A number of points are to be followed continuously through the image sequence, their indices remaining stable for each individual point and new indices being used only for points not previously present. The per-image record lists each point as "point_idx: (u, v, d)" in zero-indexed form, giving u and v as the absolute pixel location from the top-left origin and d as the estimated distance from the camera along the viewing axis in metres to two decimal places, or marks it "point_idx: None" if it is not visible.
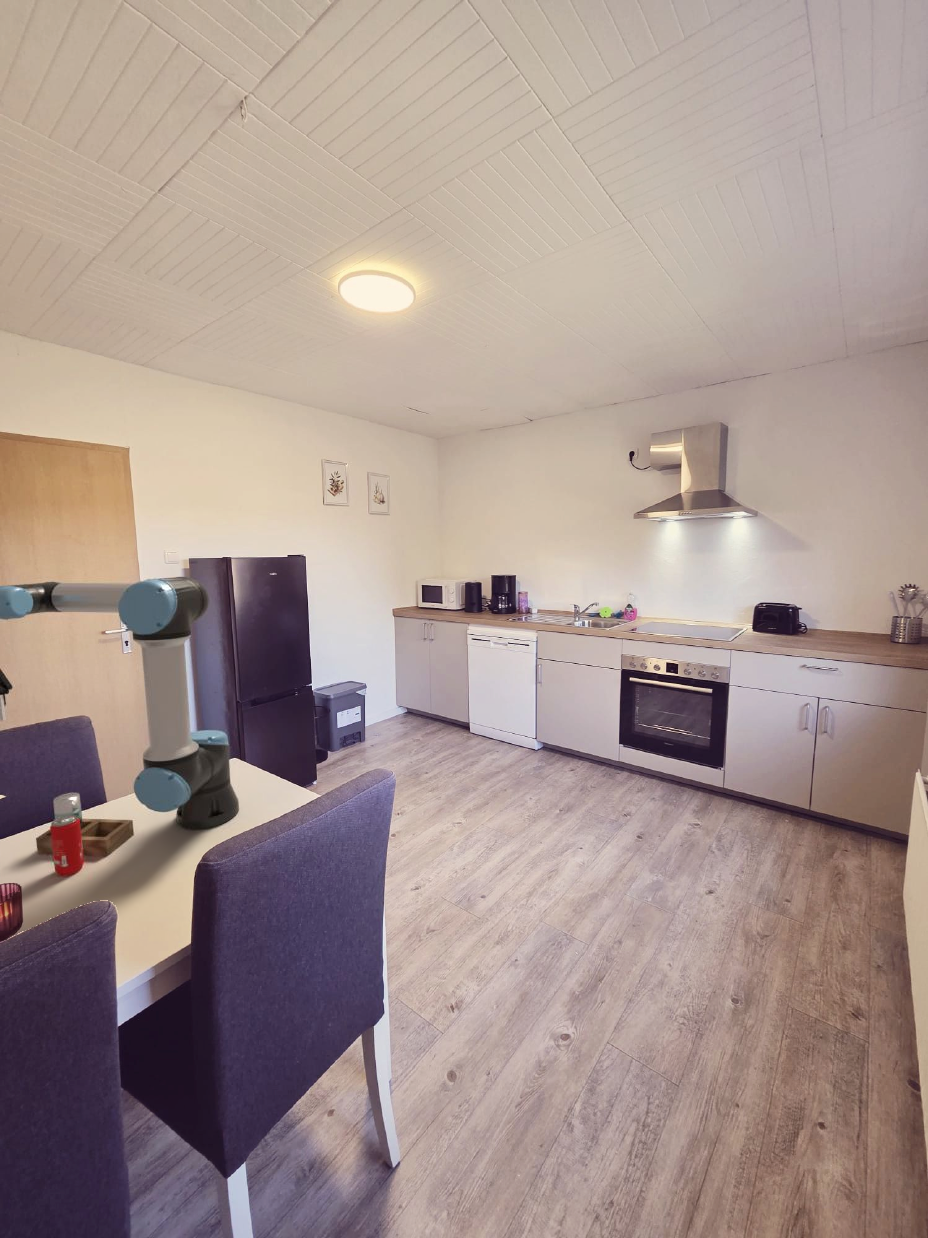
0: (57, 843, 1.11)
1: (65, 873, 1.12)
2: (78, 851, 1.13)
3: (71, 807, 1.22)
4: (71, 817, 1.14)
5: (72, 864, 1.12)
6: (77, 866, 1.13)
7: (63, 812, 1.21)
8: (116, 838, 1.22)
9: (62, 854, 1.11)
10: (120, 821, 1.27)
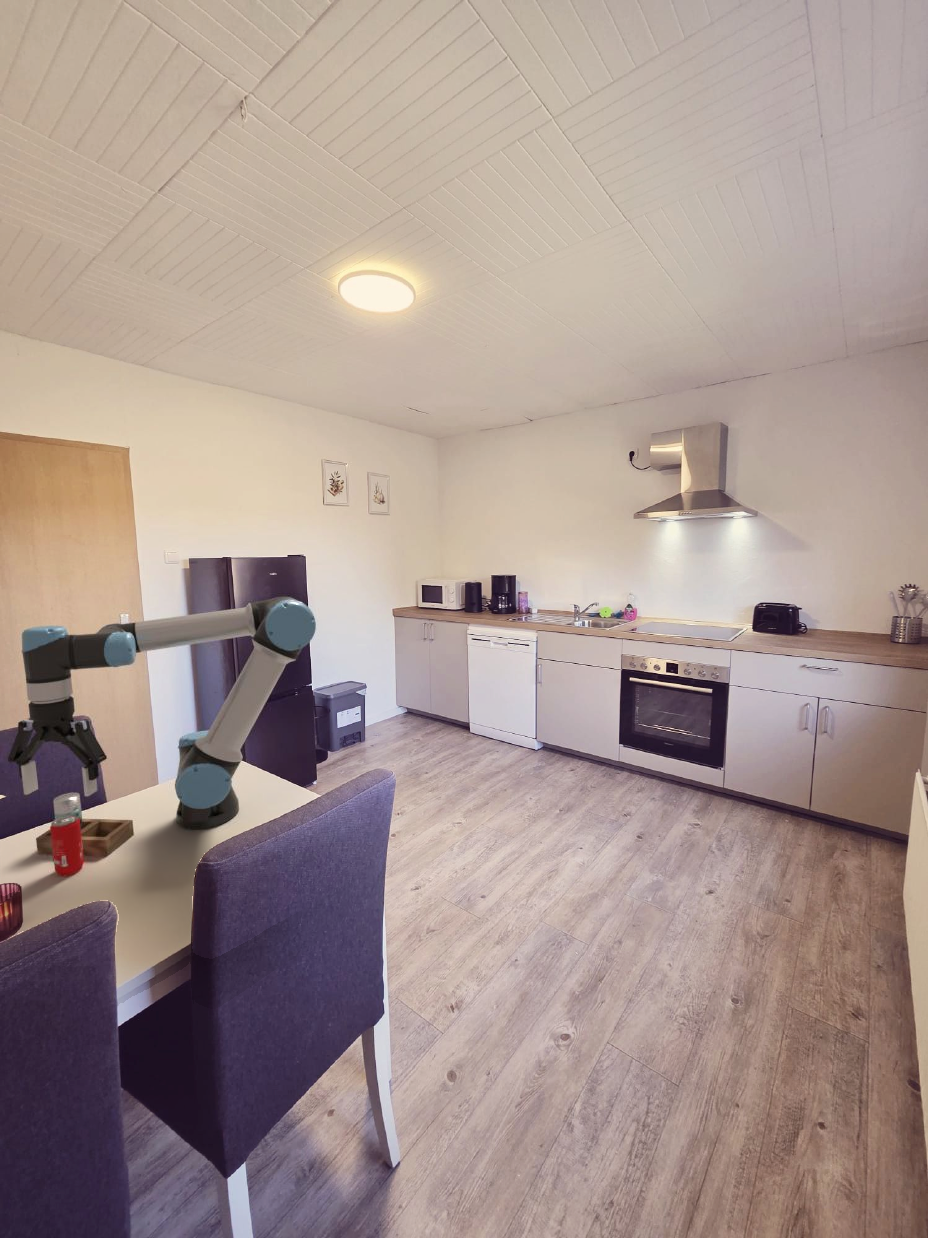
0: (57, 843, 1.11)
1: (65, 873, 1.12)
2: (78, 851, 1.13)
3: (71, 807, 1.22)
4: (71, 817, 1.14)
5: (72, 864, 1.12)
6: (77, 866, 1.13)
7: (63, 812, 1.21)
8: (116, 838, 1.22)
9: (62, 854, 1.11)
10: (120, 821, 1.27)
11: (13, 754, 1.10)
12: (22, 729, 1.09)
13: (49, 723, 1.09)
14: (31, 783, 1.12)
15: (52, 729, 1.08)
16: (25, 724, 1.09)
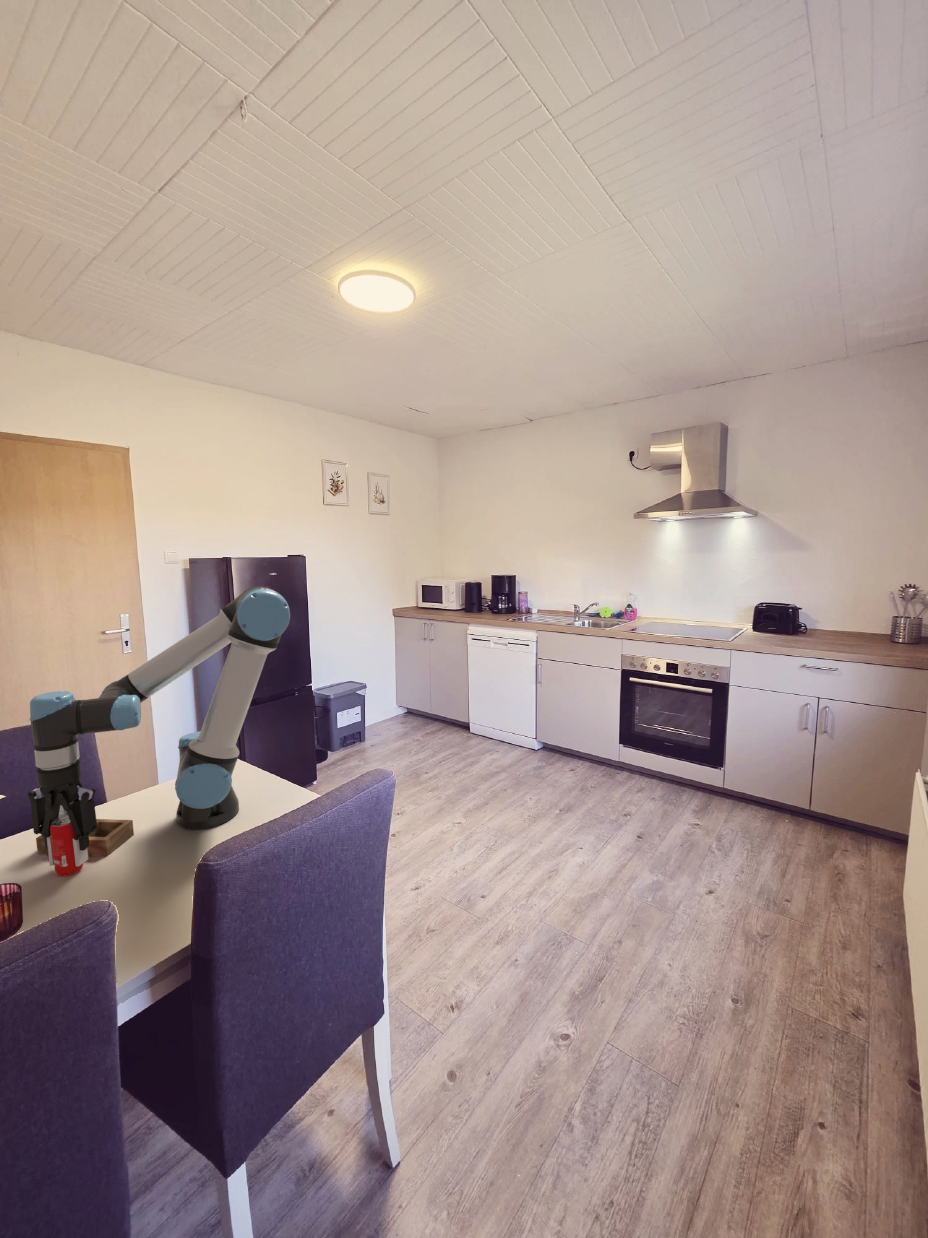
0: (57, 843, 1.11)
1: (65, 873, 1.12)
2: None
3: None
4: None
5: (72, 864, 1.12)
6: (77, 866, 1.13)
7: (63, 812, 1.21)
8: (116, 838, 1.22)
9: (62, 854, 1.11)
10: (120, 821, 1.27)
11: (36, 825, 1.12)
12: (33, 798, 1.11)
13: (57, 787, 1.10)
14: None
15: (60, 794, 1.10)
16: (34, 793, 1.11)
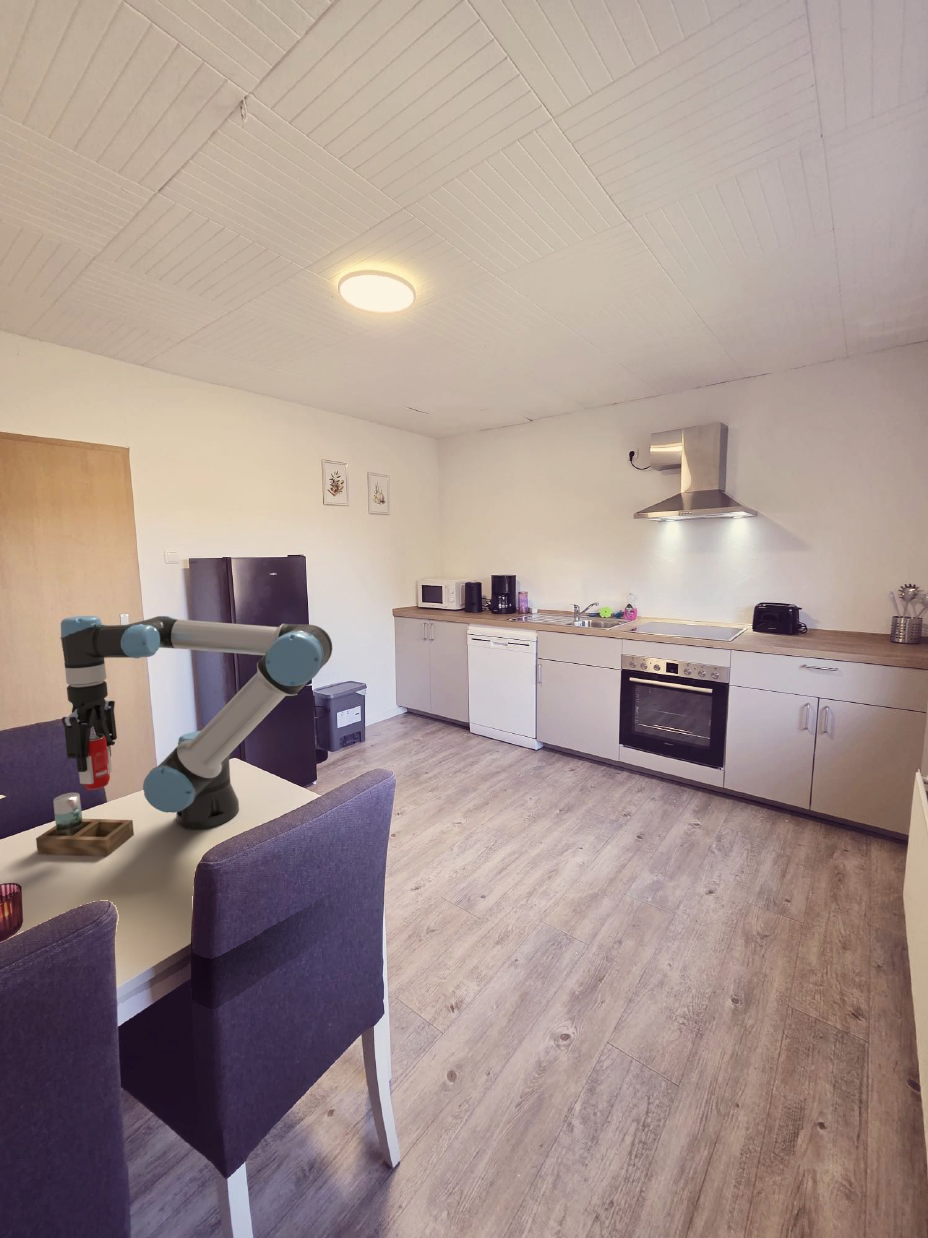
0: (104, 753, 1.21)
1: (108, 780, 1.23)
2: None
3: (71, 807, 1.22)
4: None
5: None
6: None
7: (63, 812, 1.21)
8: (116, 838, 1.22)
9: (107, 762, 1.22)
10: (120, 821, 1.27)
11: (80, 749, 1.15)
12: (77, 722, 1.14)
13: (93, 704, 1.19)
14: None
15: (102, 706, 1.21)
16: None
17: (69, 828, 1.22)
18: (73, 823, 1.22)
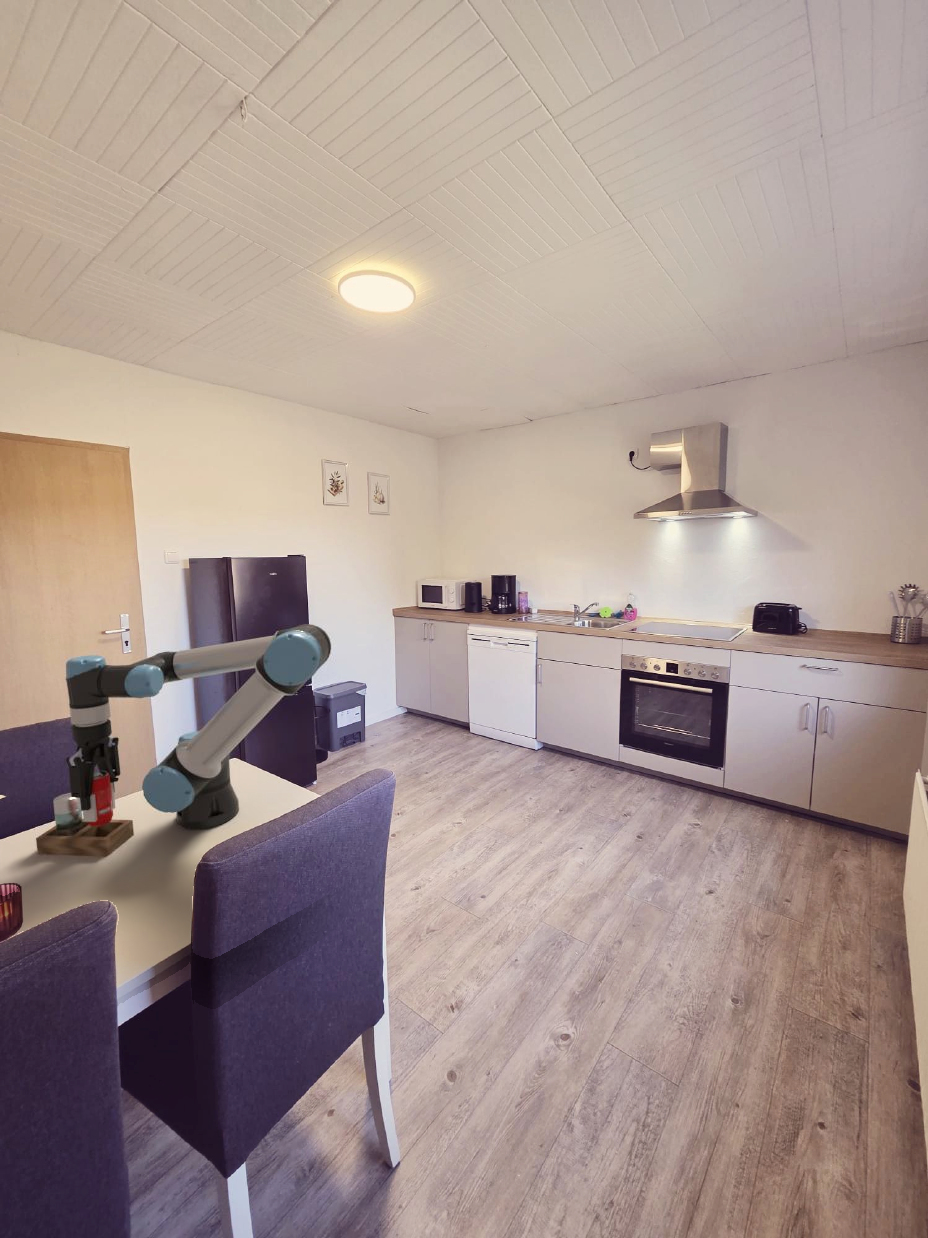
0: (108, 790, 1.22)
1: None
2: None
3: (71, 807, 1.22)
4: None
5: None
6: None
7: (63, 812, 1.21)
8: (116, 838, 1.22)
9: (111, 799, 1.23)
10: (120, 821, 1.27)
11: (83, 788, 1.16)
12: (81, 762, 1.16)
13: (97, 742, 1.21)
14: None
15: (106, 744, 1.22)
16: None
17: (69, 828, 1.22)
18: (73, 823, 1.22)
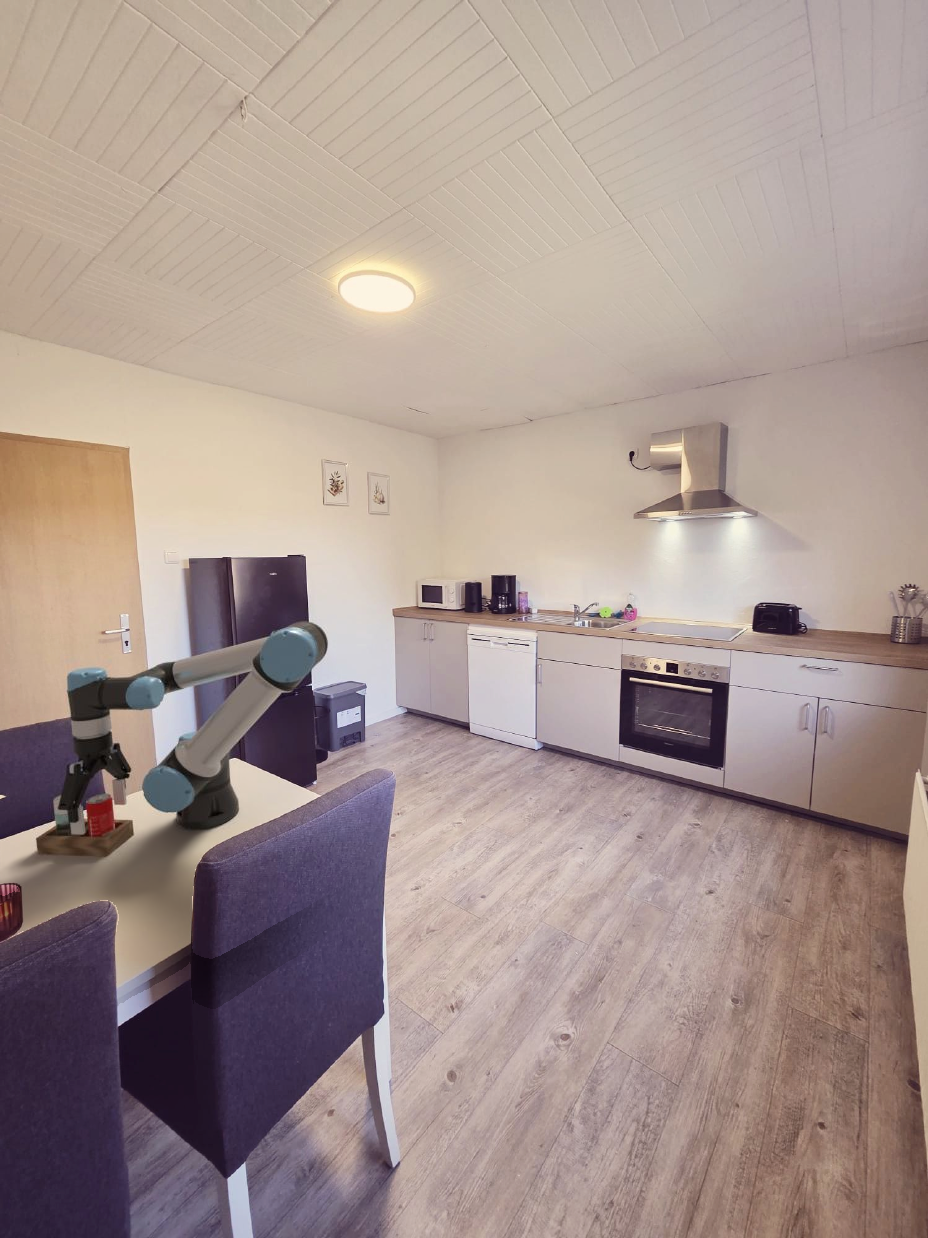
0: (111, 814, 1.23)
1: None
2: None
3: None
4: (94, 797, 1.23)
5: None
6: None
7: (63, 812, 1.21)
8: (116, 838, 1.22)
9: (113, 822, 1.24)
10: (120, 821, 1.27)
11: (73, 800, 1.13)
12: (80, 771, 1.15)
13: (99, 754, 1.21)
14: None
15: (106, 756, 1.22)
16: None
17: (69, 828, 1.22)
18: None
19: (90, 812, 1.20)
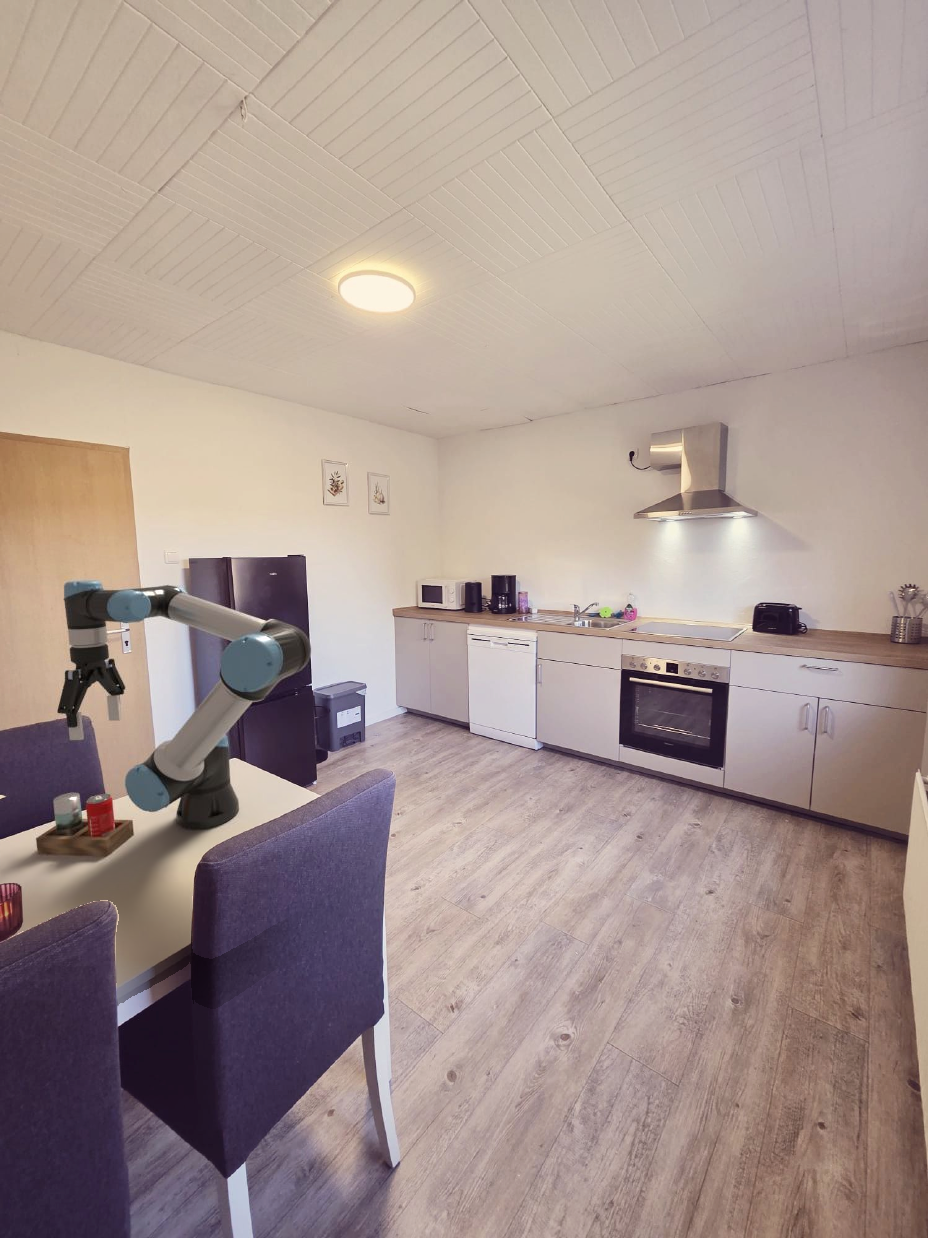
0: (111, 814, 1.23)
1: None
2: None
3: (71, 807, 1.22)
4: (94, 797, 1.23)
5: None
6: None
7: (63, 812, 1.21)
8: (116, 838, 1.22)
9: (113, 822, 1.24)
10: (120, 821, 1.27)
11: (72, 704, 1.16)
12: (78, 677, 1.18)
13: (95, 665, 1.24)
14: None
15: (103, 668, 1.25)
16: None
17: (69, 828, 1.22)
18: (73, 823, 1.22)
19: (90, 812, 1.20)
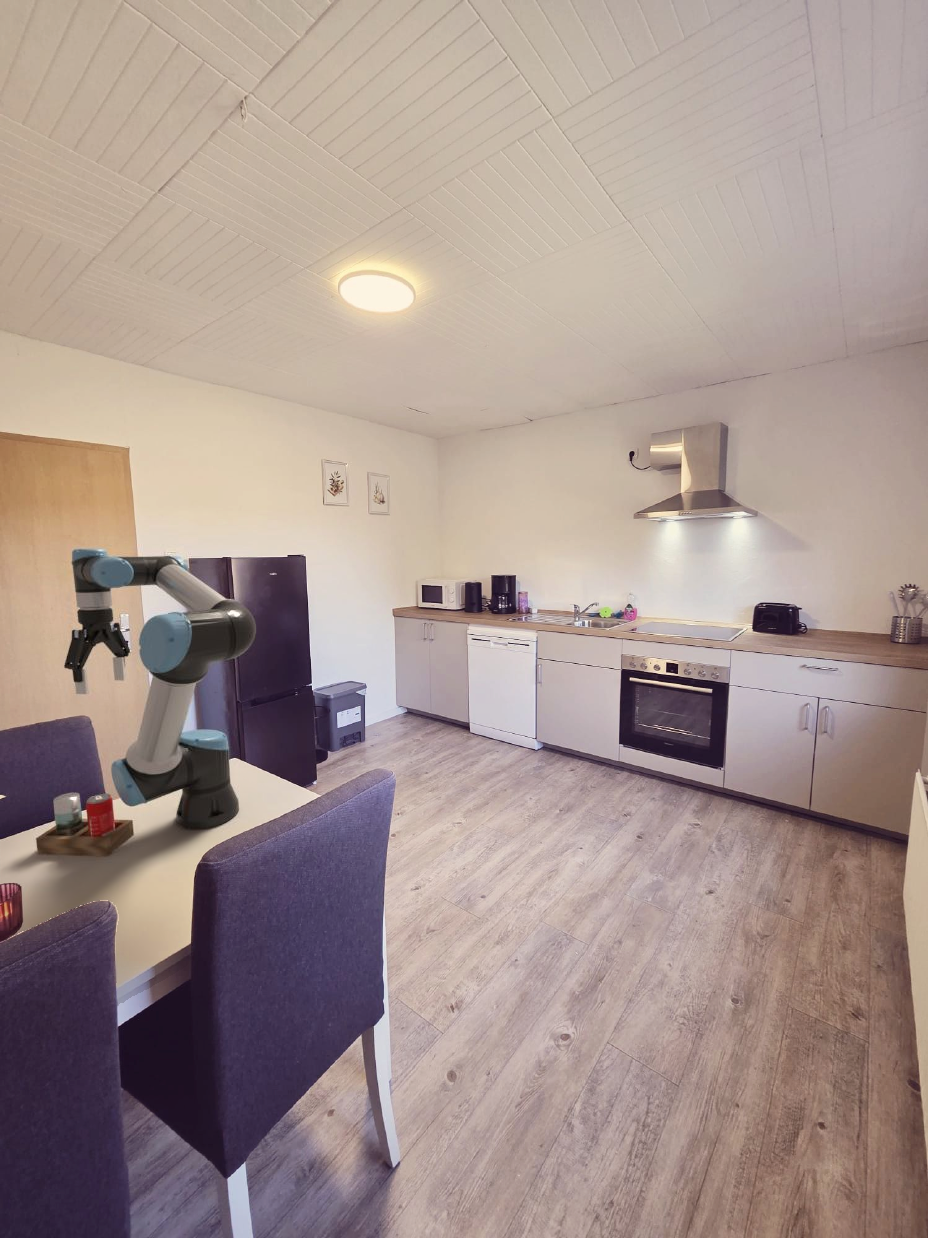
0: (111, 813, 1.23)
1: None
2: None
3: (71, 807, 1.22)
4: (94, 797, 1.23)
5: None
6: None
7: (63, 812, 1.21)
8: (116, 838, 1.22)
9: (113, 822, 1.24)
10: (120, 821, 1.27)
11: (77, 660, 1.27)
12: (83, 636, 1.29)
13: (100, 627, 1.34)
14: None
15: (107, 630, 1.36)
16: None
17: (69, 828, 1.22)
18: (73, 823, 1.22)
19: (90, 812, 1.20)
